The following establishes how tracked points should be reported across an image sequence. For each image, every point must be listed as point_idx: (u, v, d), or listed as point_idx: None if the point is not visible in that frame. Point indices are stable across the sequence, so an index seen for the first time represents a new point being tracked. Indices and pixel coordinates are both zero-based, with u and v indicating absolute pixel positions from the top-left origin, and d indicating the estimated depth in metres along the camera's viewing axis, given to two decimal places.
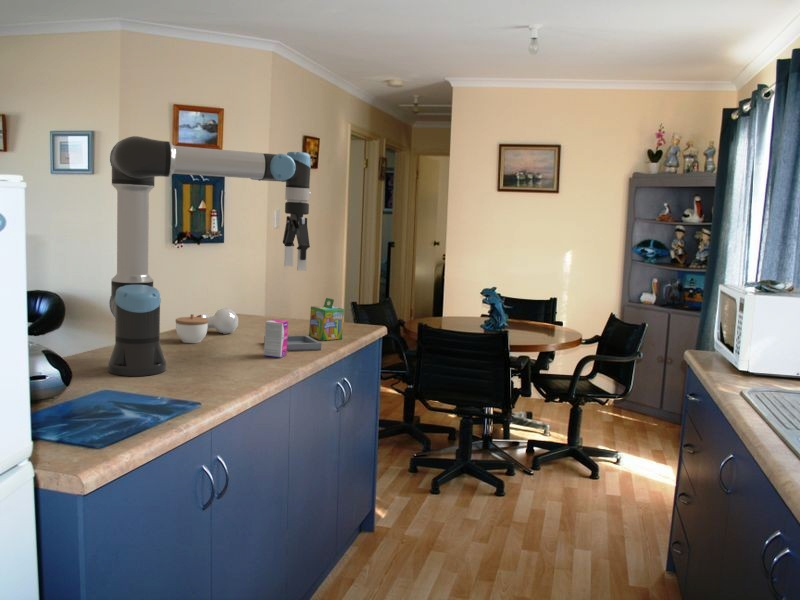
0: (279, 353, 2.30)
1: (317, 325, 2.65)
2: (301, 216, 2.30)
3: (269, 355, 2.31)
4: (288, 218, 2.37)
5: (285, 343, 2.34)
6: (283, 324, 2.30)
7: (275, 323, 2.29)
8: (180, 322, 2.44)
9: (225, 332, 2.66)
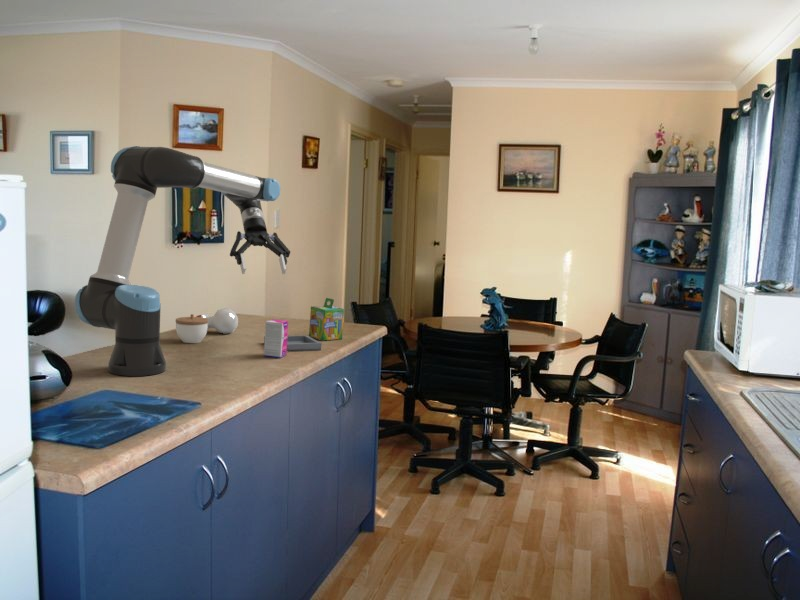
0: (279, 353, 2.30)
1: (317, 325, 2.65)
2: (245, 232, 2.48)
3: (269, 355, 2.31)
4: None
5: (285, 343, 2.34)
6: (283, 324, 2.30)
7: (275, 323, 2.29)
8: (180, 322, 2.44)
9: (225, 332, 2.66)
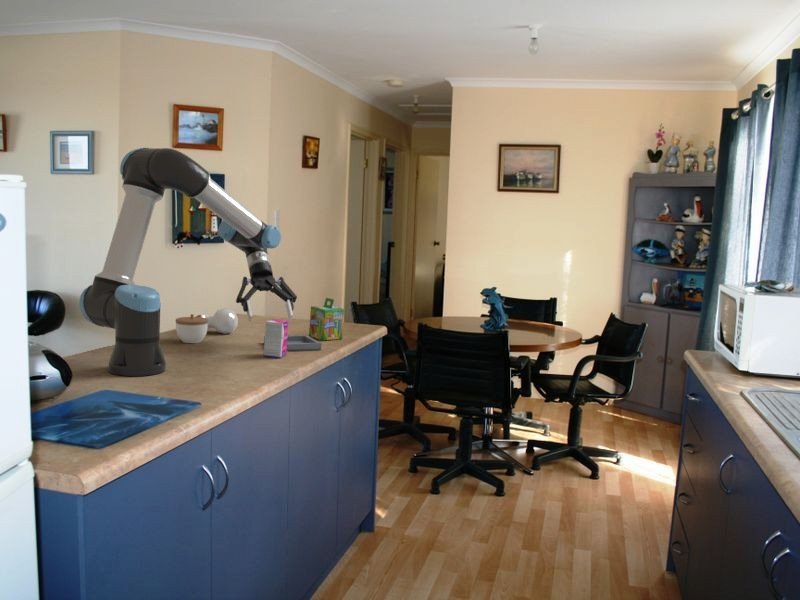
0: (279, 353, 2.30)
1: (317, 325, 2.65)
2: (251, 277, 2.45)
3: (269, 355, 2.31)
4: None
5: (285, 343, 2.34)
6: (283, 324, 2.30)
7: (275, 323, 2.29)
8: (180, 322, 2.44)
9: (225, 332, 2.66)
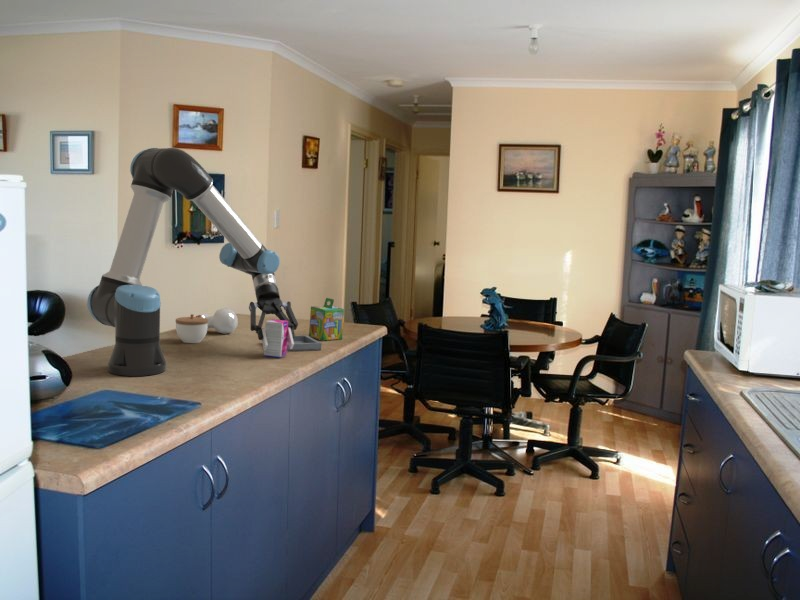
0: (279, 353, 2.30)
1: (317, 325, 2.65)
2: (257, 300, 2.38)
3: (269, 355, 2.31)
4: None
5: (285, 343, 2.34)
6: (283, 324, 2.30)
7: (275, 323, 2.29)
8: (180, 322, 2.44)
9: (224, 332, 2.66)
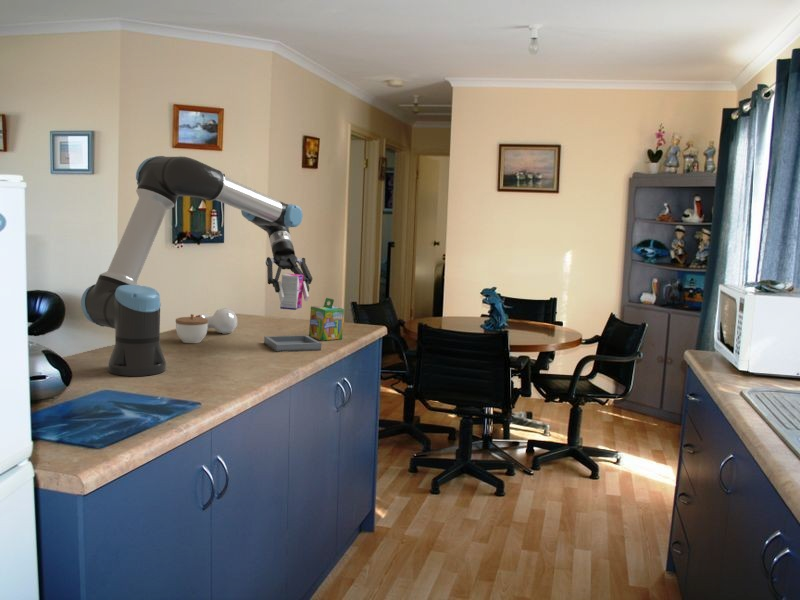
0: (294, 305, 2.42)
1: (317, 325, 2.65)
2: (273, 256, 2.50)
3: (285, 307, 2.43)
4: None
5: (301, 296, 2.46)
6: (298, 277, 2.42)
7: (291, 276, 2.42)
8: (180, 322, 2.44)
9: (224, 332, 2.66)
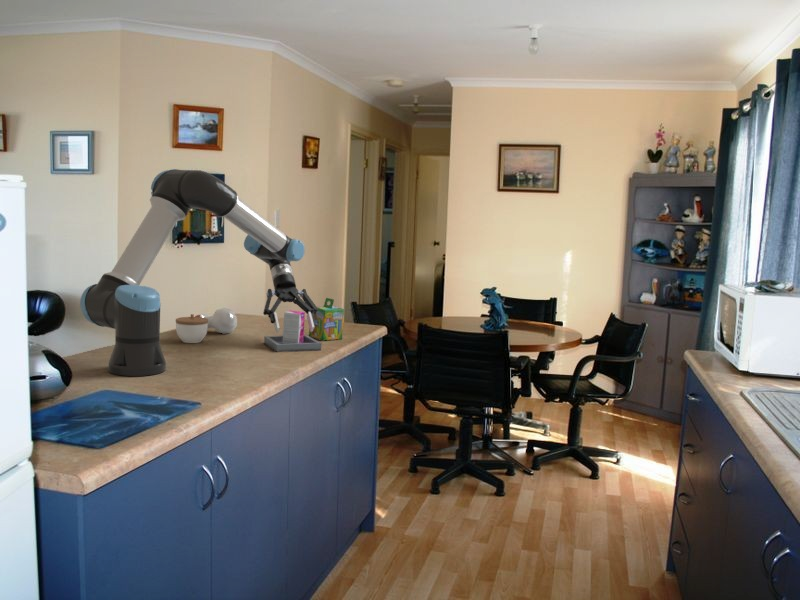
0: (296, 342, 2.47)
1: (317, 325, 2.65)
2: (275, 289, 2.54)
3: None
4: None
5: (302, 333, 2.51)
6: (300, 315, 2.47)
7: (293, 314, 2.46)
8: (180, 322, 2.44)
9: (224, 332, 2.66)
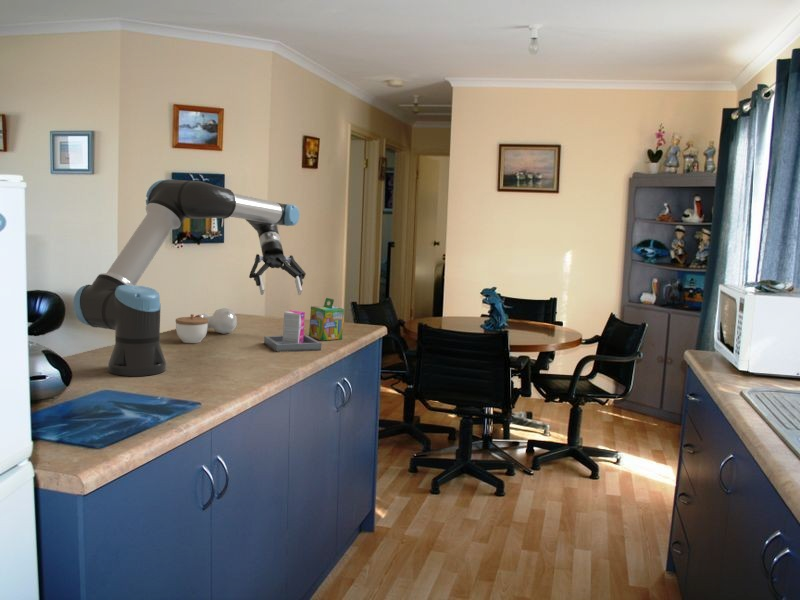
0: (296, 342, 2.47)
1: (317, 325, 2.65)
2: (263, 255, 2.63)
3: None
4: None
5: (302, 333, 2.51)
6: (300, 315, 2.47)
7: (293, 314, 2.46)
8: (180, 322, 2.44)
9: (223, 332, 2.66)
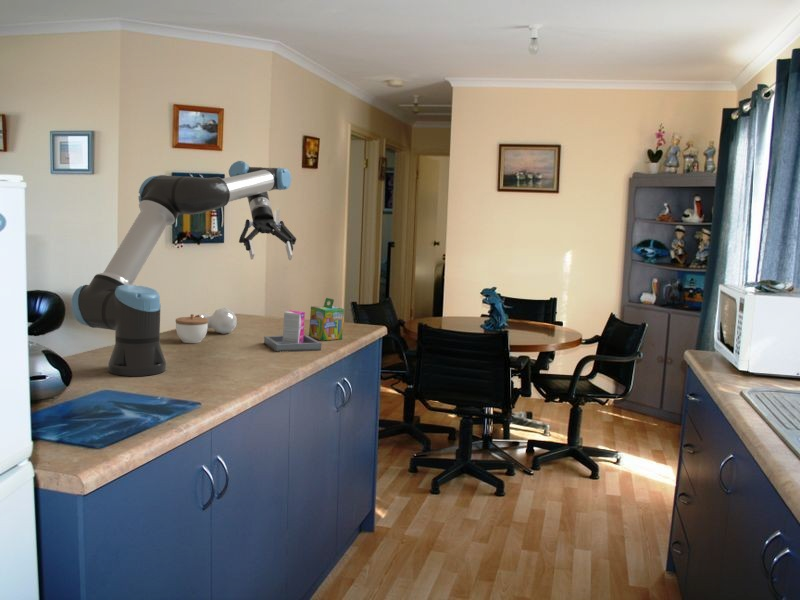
0: (296, 342, 2.47)
1: (317, 325, 2.65)
2: (253, 220, 2.61)
3: None
4: None
5: (302, 333, 2.51)
6: (300, 315, 2.47)
7: (293, 314, 2.46)
8: (180, 322, 2.44)
9: (223, 332, 2.66)
